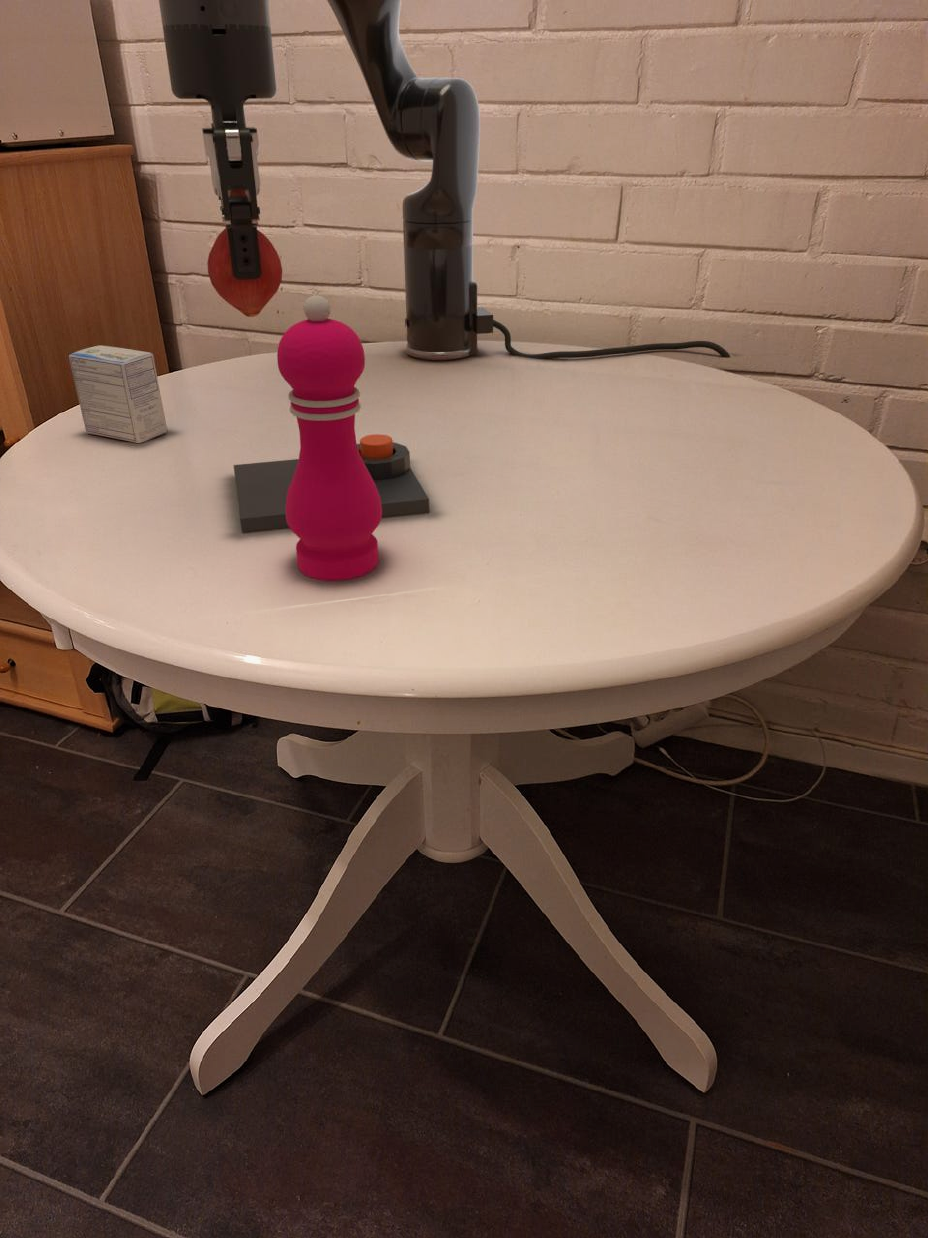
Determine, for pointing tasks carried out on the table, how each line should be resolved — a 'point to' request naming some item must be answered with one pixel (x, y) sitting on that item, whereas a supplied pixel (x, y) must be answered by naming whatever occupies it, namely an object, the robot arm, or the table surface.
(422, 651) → the table surface
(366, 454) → the button
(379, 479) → the scale
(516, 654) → the table surface
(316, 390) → the pepper mill
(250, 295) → the onion
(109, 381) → the medicine box
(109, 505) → the table surface
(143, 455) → the table surface
